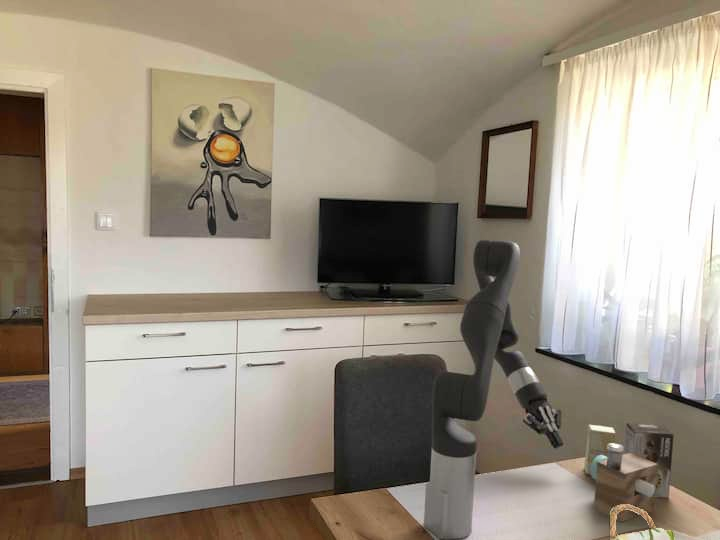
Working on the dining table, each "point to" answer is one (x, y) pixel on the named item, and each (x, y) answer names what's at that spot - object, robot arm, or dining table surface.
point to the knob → (640, 485)
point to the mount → (624, 485)
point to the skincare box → (597, 443)
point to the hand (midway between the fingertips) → (559, 446)
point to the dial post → (614, 456)
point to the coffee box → (652, 450)
